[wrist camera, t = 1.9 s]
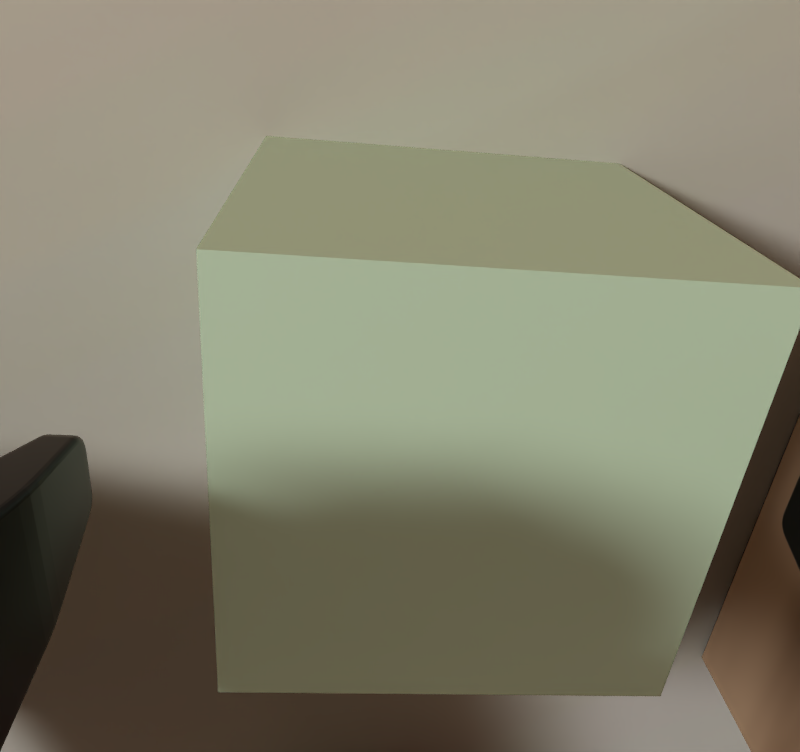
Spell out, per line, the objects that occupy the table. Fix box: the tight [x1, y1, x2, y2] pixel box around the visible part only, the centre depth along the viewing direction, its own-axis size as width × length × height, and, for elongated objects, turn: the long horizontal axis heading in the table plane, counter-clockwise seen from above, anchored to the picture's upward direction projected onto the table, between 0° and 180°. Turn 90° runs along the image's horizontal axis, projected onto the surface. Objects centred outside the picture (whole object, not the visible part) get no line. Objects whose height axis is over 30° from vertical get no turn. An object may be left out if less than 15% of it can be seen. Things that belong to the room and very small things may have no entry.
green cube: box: [196, 136, 800, 696], centre depth 11 cm, size 6×6×6 cm
